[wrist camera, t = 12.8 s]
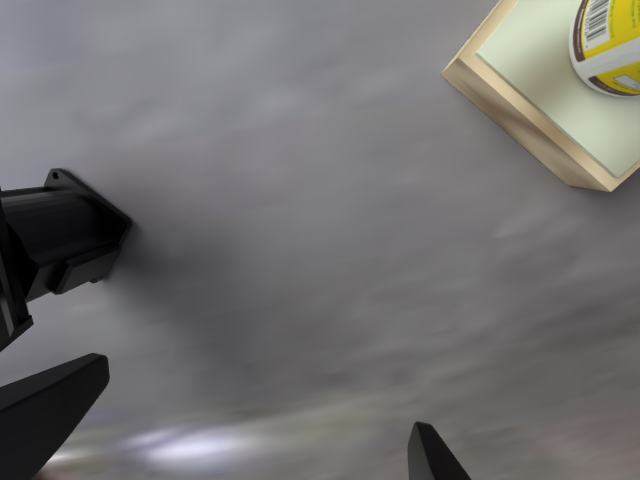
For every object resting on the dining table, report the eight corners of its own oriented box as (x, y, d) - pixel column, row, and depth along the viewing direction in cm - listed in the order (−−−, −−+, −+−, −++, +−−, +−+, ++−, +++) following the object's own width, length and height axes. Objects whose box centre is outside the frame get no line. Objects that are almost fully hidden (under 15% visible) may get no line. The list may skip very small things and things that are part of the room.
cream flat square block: (440, 74, 17) (460, 55, 13) (595, -120, 14) (670, -205, 11) (567, 185, 18) (616, 192, 14) (740, 24, 15) (853, -14, 11)
